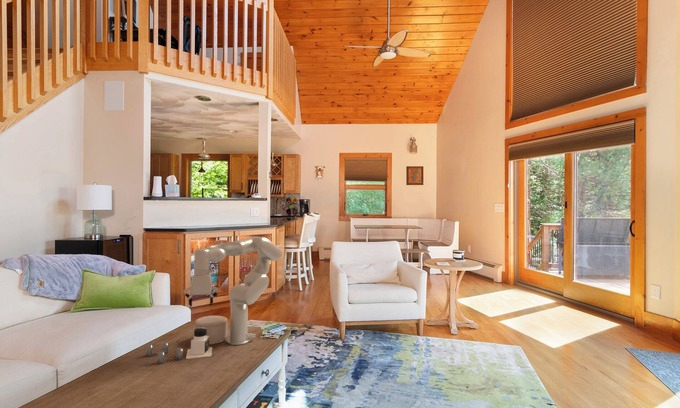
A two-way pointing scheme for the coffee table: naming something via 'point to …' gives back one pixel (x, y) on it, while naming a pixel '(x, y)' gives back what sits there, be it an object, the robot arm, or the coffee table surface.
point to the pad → (207, 354)
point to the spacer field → (163, 352)
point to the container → (213, 327)
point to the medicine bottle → (200, 342)
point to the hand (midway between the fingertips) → (200, 305)
